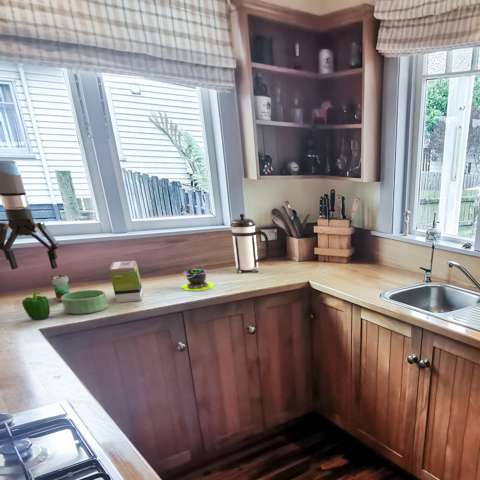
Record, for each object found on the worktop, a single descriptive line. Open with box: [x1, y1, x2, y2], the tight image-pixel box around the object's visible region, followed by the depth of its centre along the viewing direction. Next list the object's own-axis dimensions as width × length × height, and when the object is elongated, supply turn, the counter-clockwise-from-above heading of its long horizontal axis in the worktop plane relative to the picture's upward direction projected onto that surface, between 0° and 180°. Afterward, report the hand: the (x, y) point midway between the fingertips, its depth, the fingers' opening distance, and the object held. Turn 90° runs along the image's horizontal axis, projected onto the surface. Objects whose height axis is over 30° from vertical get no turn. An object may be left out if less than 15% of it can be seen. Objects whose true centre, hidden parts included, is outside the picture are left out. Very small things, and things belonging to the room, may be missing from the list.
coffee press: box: [227, 213, 270, 274], centre depth 251 cm, size 17×16×30 cm
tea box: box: [108, 260, 144, 304], centre depth 203 cm, size 15×10×15 cm
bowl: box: [61, 289, 109, 315], centre depth 189 cm, size 15×15×6 cm
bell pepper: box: [21, 290, 51, 320], centre depth 177 cm, size 8×8×10 cm
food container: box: [50, 273, 70, 303], centre depth 201 cm, size 12×6×10 cm, turn 34°
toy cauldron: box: [180, 262, 215, 292], centre depth 222 cm, size 15×15×11 cm
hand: (35, 268), depth 173 cm, fingers open, 13 cm apart
